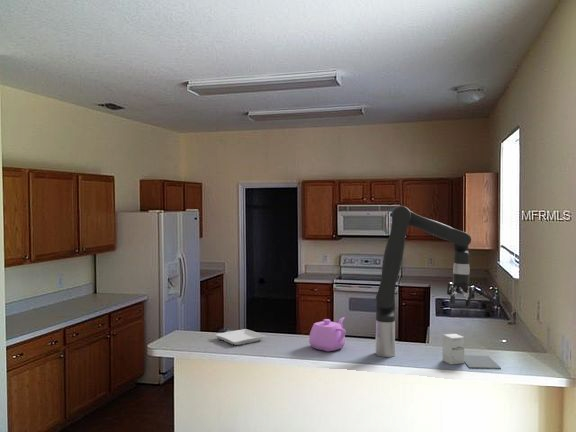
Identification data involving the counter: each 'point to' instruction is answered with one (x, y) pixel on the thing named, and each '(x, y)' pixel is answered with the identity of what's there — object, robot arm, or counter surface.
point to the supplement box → (453, 348)
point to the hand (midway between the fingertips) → (460, 305)
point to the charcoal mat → (480, 362)
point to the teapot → (327, 335)
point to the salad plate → (240, 336)
